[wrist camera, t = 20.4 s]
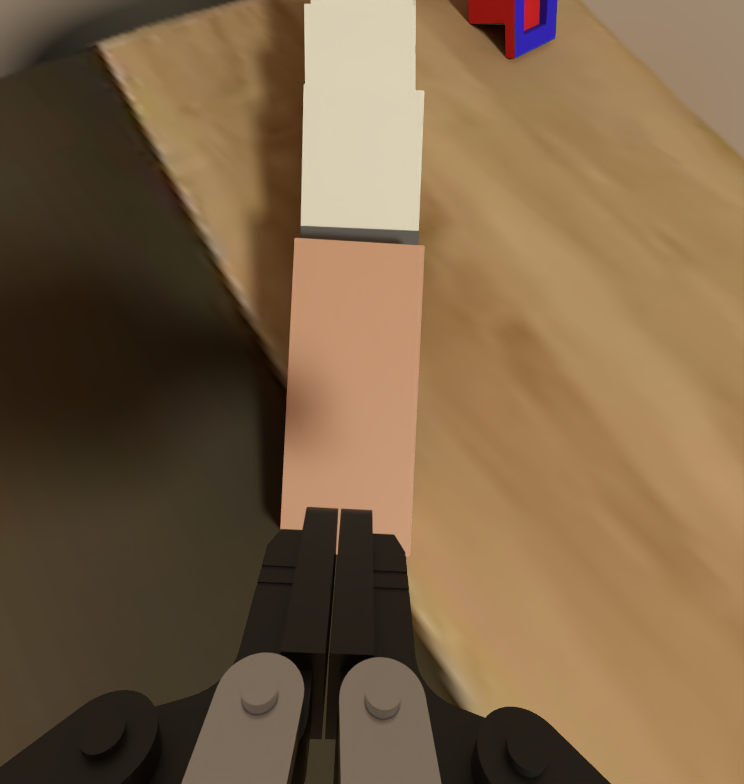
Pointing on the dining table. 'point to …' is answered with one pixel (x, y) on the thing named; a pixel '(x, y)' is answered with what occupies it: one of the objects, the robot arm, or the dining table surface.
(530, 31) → the blue red-paneled block
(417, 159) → the domino
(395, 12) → the domino
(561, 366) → the dining table surface
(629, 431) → the dining table surface
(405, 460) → the domino
